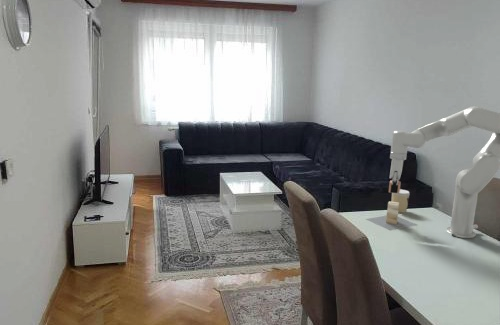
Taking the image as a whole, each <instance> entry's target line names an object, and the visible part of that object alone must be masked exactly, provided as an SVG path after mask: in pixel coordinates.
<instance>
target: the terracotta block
mask: <svg viewBox="0 0 500 325" xmlns="http://www.w3.org/2000/svg"><path fill="white" fill-rule="evenodd" d="M401 183H402V182H401V181H400V180H399V181H398V191H397V193H398V194H399V192H400V189H401ZM391 184H392V179H391V180H390V181H389V185H388V193H391V192H390V191H391ZM391 194H392V193H391Z"/></svg>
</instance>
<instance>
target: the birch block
mask: <svg viewBox="0 0 500 325" xmlns="http://www.w3.org/2000/svg"><path fill="white" fill-rule="evenodd" d="M398 209H399V203H398V202H392V201H388V202H387V210H386V214H387V213H388V214H395V215H399V212H398Z"/></svg>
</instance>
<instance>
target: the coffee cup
mask: <svg viewBox="0 0 500 325" xmlns="http://www.w3.org/2000/svg"><path fill="white" fill-rule="evenodd" d="M410 193H411V192H410V191H409V190H406V189H402V188H400V192H399V194H398V193H391V202H398V203H399V209H398V213H400V214H401V213H406V212H407V210H408V205H409V199H410Z"/></svg>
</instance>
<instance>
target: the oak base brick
mask: <svg viewBox="0 0 500 325" xmlns="http://www.w3.org/2000/svg"><path fill="white" fill-rule="evenodd" d="M398 215H399V214H398ZM398 215H395V214H388V213H387V212H386V216H387V217H386V223H391V224H397V217H399V216H398Z"/></svg>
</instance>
